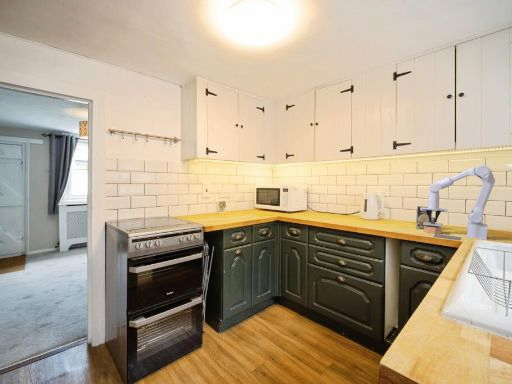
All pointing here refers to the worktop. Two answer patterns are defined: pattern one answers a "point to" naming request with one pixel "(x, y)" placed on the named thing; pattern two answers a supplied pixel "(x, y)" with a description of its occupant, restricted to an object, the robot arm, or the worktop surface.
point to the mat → (447, 237)
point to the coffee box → (421, 218)
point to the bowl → (432, 229)
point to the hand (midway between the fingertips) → (432, 222)
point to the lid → (432, 222)
